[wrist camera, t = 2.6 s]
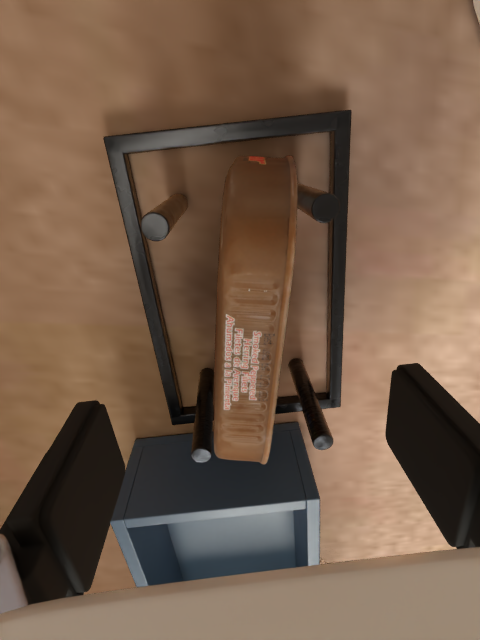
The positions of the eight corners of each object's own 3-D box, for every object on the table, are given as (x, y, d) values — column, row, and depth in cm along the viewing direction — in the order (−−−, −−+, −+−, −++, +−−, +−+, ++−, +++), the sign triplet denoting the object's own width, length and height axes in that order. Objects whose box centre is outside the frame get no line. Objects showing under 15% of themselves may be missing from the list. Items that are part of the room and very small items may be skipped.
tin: (259, 394, 24) (276, 505, 16) (214, 393, 24) (210, 505, 16) (283, 157, 17) (329, 155, 10) (222, 153, 17) (220, 148, 10)
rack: (346, 111, 17) (421, 82, 10) (337, 400, 24) (377, 484, 18) (107, 137, 17) (37, 124, 10) (173, 417, 24) (156, 508, 18)
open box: (298, 421, 25) (320, 498, 19) (303, 577, 34) (319, 662, 28) (135, 438, 25) (109, 521, 19) (181, 590, 34) (173, 677, 28)
